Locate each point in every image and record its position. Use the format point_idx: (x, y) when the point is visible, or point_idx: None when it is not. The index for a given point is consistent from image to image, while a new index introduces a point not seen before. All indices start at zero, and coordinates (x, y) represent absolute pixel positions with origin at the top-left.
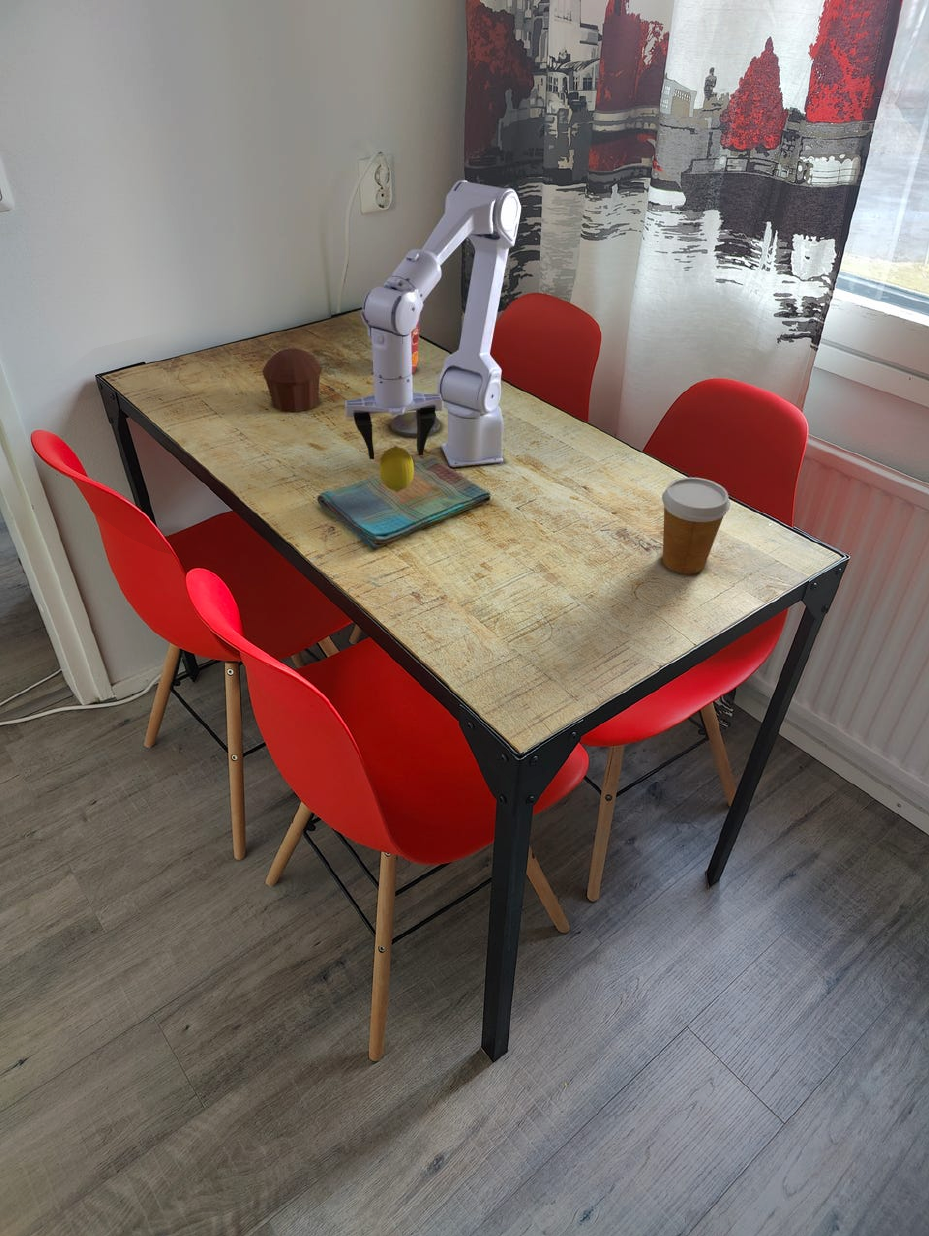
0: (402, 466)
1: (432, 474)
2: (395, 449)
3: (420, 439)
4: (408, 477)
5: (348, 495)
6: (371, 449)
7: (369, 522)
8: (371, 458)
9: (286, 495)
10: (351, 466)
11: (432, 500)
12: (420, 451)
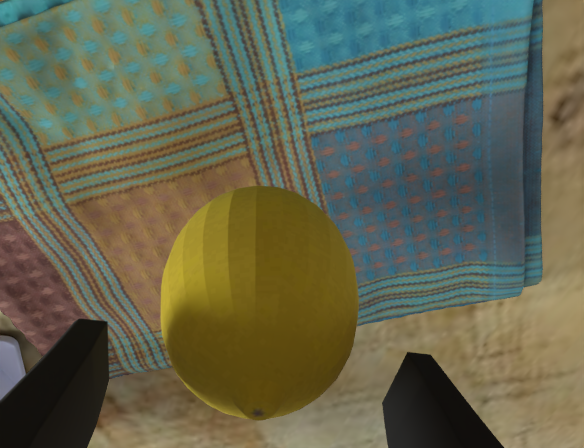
0: (248, 258)
1: (86, 301)
2: (268, 391)
3: (33, 437)
4: (216, 210)
5: (435, 262)
6: (459, 415)
7: (464, 40)
8: (429, 358)
9: (561, 332)
10: (325, 403)
11: (117, 133)
12: (83, 340)
